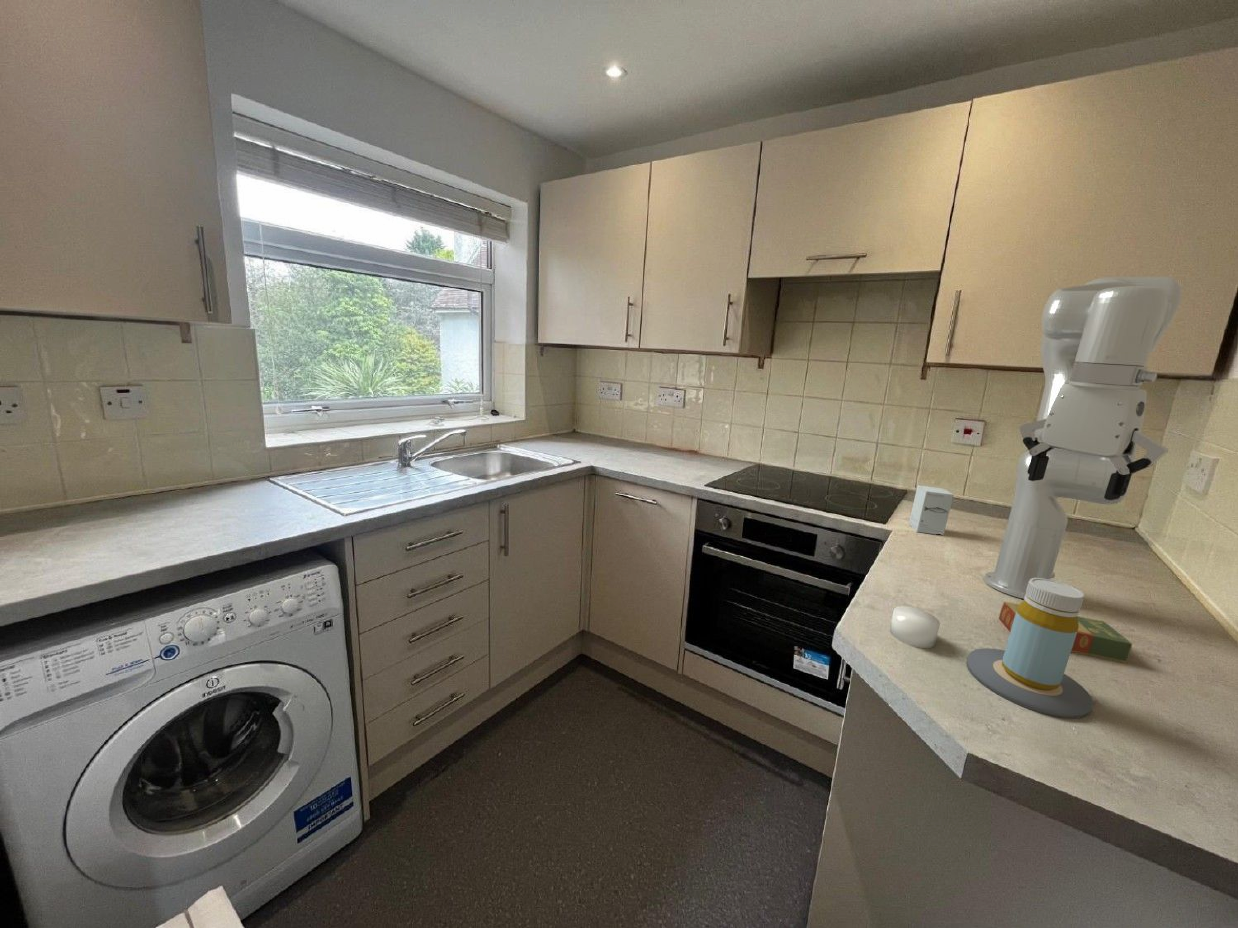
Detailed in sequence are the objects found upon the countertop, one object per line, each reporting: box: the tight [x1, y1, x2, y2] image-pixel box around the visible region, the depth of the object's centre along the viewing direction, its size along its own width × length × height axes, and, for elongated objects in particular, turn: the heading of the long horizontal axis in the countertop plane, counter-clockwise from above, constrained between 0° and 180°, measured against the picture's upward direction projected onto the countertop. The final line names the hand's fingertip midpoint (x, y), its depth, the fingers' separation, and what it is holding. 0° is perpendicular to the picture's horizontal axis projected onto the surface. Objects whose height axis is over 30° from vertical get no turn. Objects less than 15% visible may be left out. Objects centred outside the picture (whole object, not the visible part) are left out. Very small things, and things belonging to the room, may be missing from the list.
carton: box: [998, 601, 1133, 664], centre depth 90 cm, size 8×16×4 cm, turn 72°
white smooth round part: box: [888, 605, 941, 649], centre depth 87 cm, size 7×7×4 cm
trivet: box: [966, 647, 1094, 719], centre depth 76 cm, size 15×15×1 cm
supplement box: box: [908, 484, 954, 536], centre depth 146 cm, size 7×7×13 cm
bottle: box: [1002, 578, 1085, 690], centre depth 74 cm, size 7×7×15 cm
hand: (1071, 488), depth 77 cm, fingers open, 9 cm apart
